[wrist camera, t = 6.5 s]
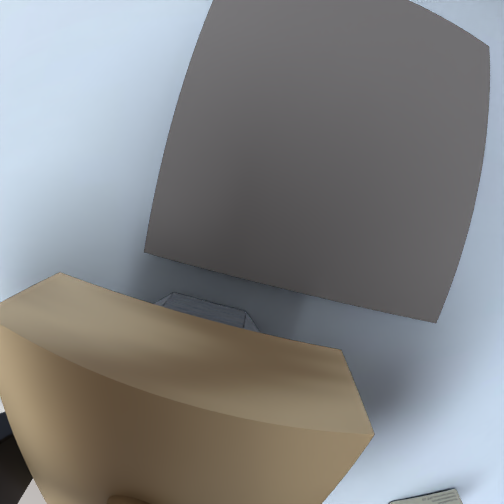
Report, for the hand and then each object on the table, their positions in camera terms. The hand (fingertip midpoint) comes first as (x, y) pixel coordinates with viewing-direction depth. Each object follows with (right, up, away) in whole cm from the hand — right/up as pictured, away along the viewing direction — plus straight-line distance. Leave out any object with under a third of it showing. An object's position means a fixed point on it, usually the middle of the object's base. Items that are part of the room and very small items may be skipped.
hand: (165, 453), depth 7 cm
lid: (0, 0, +1) cm, 1 cm away
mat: (+6, +10, +2) cm, 12 cm away
